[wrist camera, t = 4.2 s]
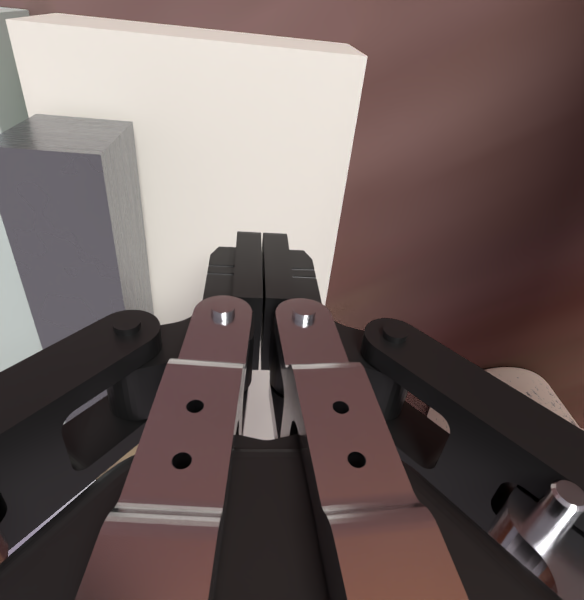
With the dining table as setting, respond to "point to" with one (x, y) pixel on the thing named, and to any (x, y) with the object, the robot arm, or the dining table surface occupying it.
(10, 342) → the door leaf
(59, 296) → the bar
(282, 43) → the jamb block
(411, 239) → the dining table surface
